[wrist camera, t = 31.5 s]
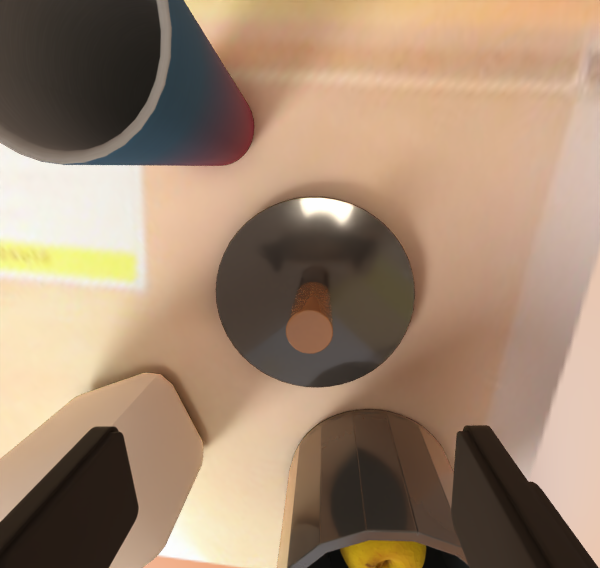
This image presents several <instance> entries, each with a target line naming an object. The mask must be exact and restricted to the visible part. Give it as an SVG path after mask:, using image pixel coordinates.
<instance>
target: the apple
mask: <svg viewBox="0 0 600 568" xmlns="http://www.w3.org/2000/svg"><path fill="white" fill-rule="evenodd" d="M340 551H341V554H342V556H343V558H344V560H345V562H346V564H347V566H348V567H349V568H422V567H423V565H424V560H425V555H426V545H423V544H420V543H417V542H411V541H377V540H369V541H365V542H362V543H359V544H355V545H352V546H348V547H345V548H341V549H340Z"/></svg>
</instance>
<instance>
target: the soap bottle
mask: <svg viewBox="0 0 600 568" xmlns="http://www.w3.org/2000/svg"><path fill="white" fill-rule="evenodd" d="M96 426H114V427H116V428H117V429H118V431H119V432H122V434H123V436H124V440H125V445H126V450H127V454H128V459H129V463H130V468H131V473H132V477H133V482H134V487H135V491H136V496H137V501H138V506H139V510H138V515H137V519H136V521H135V523H134V524H133V526H132V528H131V530H130V532H129V533H128V535H127V537H126V539H125V540H124V542H123V544H122V546H121V547H120V549H119V551H118V553H117V554H116V556H115V558H114V560H113V562H112V563H111V565H110V567H109V568H143V567H145V566H146V565H147V564H148V563H149V562H151V561H152V560H153V559H154V558H155V557H157V555H158V554H159V553H160V552H161V551H162V549H163V548H164V547H165V545H166V543H167V541H168V539H169V536H170V534H171V532H172V530H173V527H174V525H175V523H176V521H177V519H178V516H179V514H180V512H181V510H182V508H183V505H184V503H185V501H186V499H187V496H188V494H189V492H190V490H191V488H192V485H193V483H194V481H195V479H196V477H197V474H198V472H199V470H200V468H201V465H202V461H203V441H202V440H201V438H200V436H199V434H198V432H197V430H196V428H195V426H194V424H193V422H192V421H191V419H190V417H189V415H188V413H187V411H186V409H185V407H184V405H183V404H182V402H181V400H180V398H179V396H178V394H177V392H176V390H175V388H174V387H173V385H172V383H170V382H169V381H168V380H166V379H165V378H164V377H163V376H162V375H161V374H154V373H142V374H139V375H136V376H133V377H130V378H127V379H124V380H121V381H118V382H116V383H113V384H110V385H107V386H104V387H101V388H98V389H95V390H92V391H89V392H87V393H84V394H81V395H79V396H77V397H75V398H73V399H72V400H71V401H70V402H69V403H67V404H66V405H65V406H64V407H63V408H61V409H60V410H59V411H58V412H57V413H55V414H54V415H53V416H52V417H50V418H49V419H48V420H47V421H46V422H44V423H43V424H42V425H41V426H40V427H38V428H37V429H36V430H35V431H34V432H32V433H31V434H30V435H29V436H27V437H26V438H25V439H24V440H23V441H21V442H20V443H19V444H18V445H17V446H15V447H14V448H13V449H12V450H11V451H9V452H8V453H7V454H6V455H4V456H3V457H2V458H1V459H0V522H1V521H2V520H3V519H4V518H5V517H6V516H7V515H8V513H9V512H10V511H11V510H12V509H13V508H14V507H15V506H16V505H17V504H18V503H19V502H20V501H21V500H22V499H23V498H24V497H25V496H26V495H27V494H28V493H29V492H30V491H31V490H32V489H33V488H34V487H35V486H36V485H37V484H38V483H39V482H40V481H41V480H42V478H43V477H44V476H45V475H46V474H47V473H48V472H49V471H50V470H51V469H52V468H53V467H54V466H55V465H56V464H57V463H58V462H59V461H60V460H61V459H62V458H63V457H64V456H65V455H66V454H67V453H68V452H69V451H70V450H71V449H72V448H73V447H74V446H75V445H76V444H77V442H78V441H79V440H80V439H81V438H82V437H83V436H84V435H85V434H86V433H87V432H88V431H89V430H90V429H91V428H93V427H96Z"/></svg>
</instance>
